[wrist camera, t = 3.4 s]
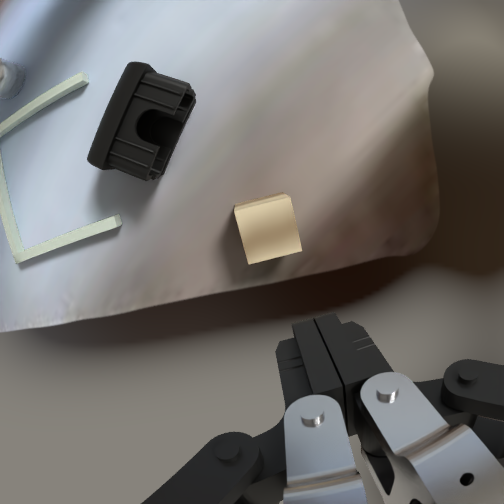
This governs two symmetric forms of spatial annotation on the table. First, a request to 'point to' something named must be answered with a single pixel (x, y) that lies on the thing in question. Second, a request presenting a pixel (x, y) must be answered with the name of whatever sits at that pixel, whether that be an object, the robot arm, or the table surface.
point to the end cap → (142, 123)
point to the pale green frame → (3, 205)
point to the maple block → (267, 227)
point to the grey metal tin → (11, 78)
